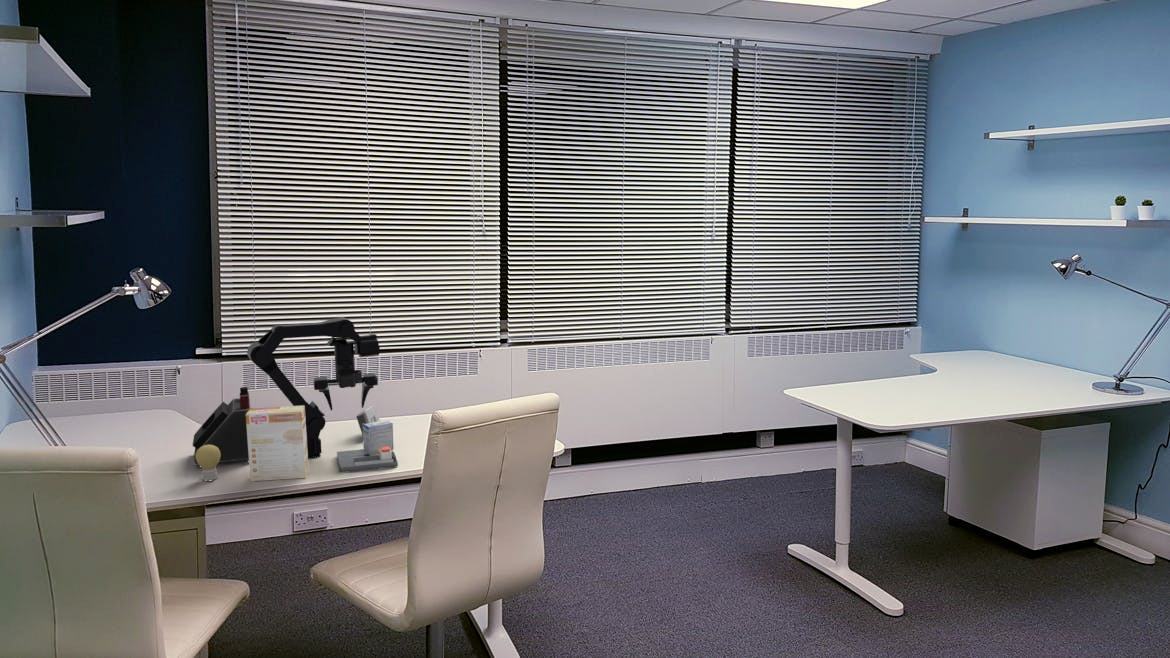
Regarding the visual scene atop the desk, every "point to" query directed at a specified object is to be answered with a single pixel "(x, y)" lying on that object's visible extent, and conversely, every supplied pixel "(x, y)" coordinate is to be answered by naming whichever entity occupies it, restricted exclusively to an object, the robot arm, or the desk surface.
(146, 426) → the desk surface
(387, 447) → the breaker toggle
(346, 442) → the desk surface
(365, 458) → the panel
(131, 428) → the desk surface
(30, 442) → the desk surface
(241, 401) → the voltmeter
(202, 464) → the light bulb
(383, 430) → the medicine box
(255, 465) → the coffeecake box
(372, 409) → the electrical switch
